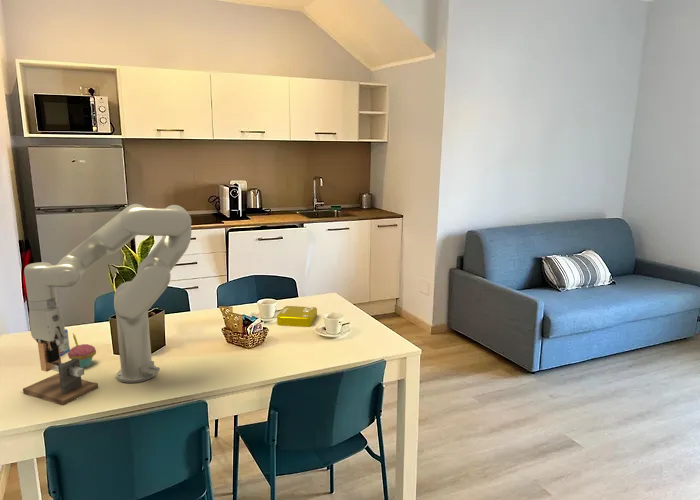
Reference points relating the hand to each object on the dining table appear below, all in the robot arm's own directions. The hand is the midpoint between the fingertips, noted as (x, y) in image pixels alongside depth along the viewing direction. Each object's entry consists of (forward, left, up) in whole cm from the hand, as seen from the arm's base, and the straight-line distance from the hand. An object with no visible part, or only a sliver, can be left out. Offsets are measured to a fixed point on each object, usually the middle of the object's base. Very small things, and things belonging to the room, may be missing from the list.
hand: (50, 359), depth 159 cm
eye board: (-3, 0, -10) cm, 10 cm away
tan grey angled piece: (-6, 0, -3) cm, 7 cm away
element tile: (-38, -86, -10) cm, 95 cm away
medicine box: (+23, -18, -10) cm, 31 cm away
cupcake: (+7, -16, -10) cm, 20 cm away
